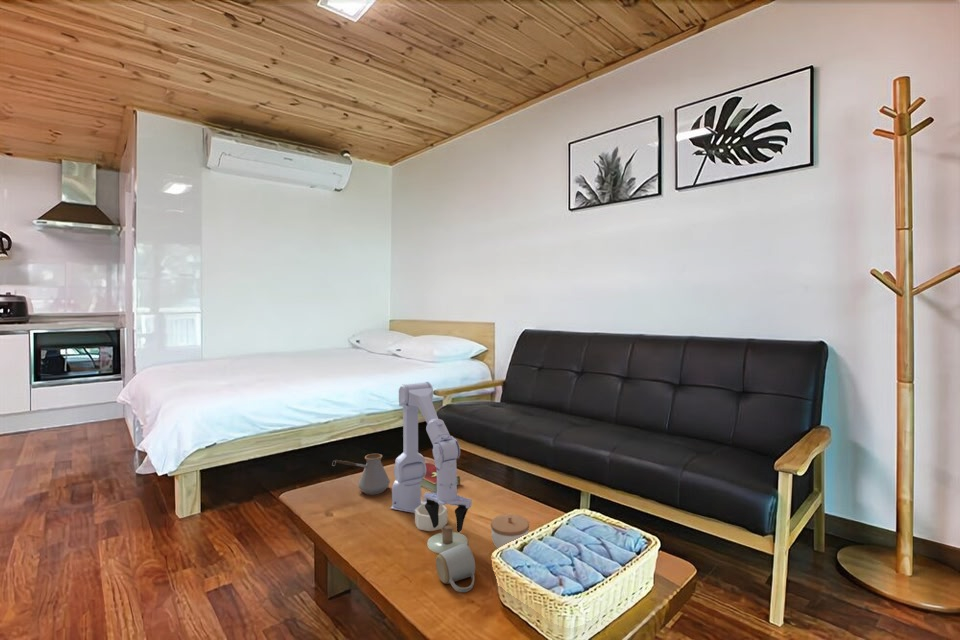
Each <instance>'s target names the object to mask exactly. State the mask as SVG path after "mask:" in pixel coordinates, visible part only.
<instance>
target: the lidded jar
mask: <svg viewBox="0 0 960 640" xmlns="http://www.w3.org/2000/svg"><path fill="white" fill-rule="evenodd" d="M490 528H491V533H490V534H491V538H492V542H493V544H494V546H495V548H496V549H498V548H499V547H501V546H503V545H505V544H507V543H509V542H511V541H514V540H516V539H518V538H520V537H522V536H524V535H526V534H528V533H529V531H530V529H529V528H530V522H529V520H528V518H525V517H524V516H521V515H519V514H514V513H512V514H511V513H506V514H500V515H497V516H495V517H493V518H492V520H491V521H490Z"/></svg>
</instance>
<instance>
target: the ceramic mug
mask: <svg viewBox="0 0 960 640" xmlns="http://www.w3.org/2000/svg"><path fill="white" fill-rule="evenodd" d="M475 561H476V560H475V557H474V554H473V552H472V549H471V548H470V546H469V545H468V544H465V543H463V544H460V545H458V546H456V547H453V548H451V549H448V550H446V551H443V552H442V553H440V554H439V553H438V554H437V556H436V557H435V568H436V569H435V570H436V574H437V575H438V577H439V581H441V583H443V584H450V585H451V587H452V588H453V589H454V590H455V591H456V592H458V593H467V592H469V591H471V590H472V589H473V586H474V585H475V573H476V562H475ZM467 578H471V583H470V585H469V586H466V587H461V586H459V585H457V584H456V583H455V582H457V581H461V580H463V579H464V580H465V579H467Z"/></svg>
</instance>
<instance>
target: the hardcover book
mask: <svg viewBox="0 0 960 640" xmlns="http://www.w3.org/2000/svg"><path fill="white" fill-rule="evenodd" d="M425 465H426V475H425V477H424V478H423V481H421V487H423V488H424V489H427V490H429V491H430V492H431V493H437V467H435V463H434V464H433V463H431V462H429V461H425ZM459 485H461V477H460V475H458V474H457V486H459Z"/></svg>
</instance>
